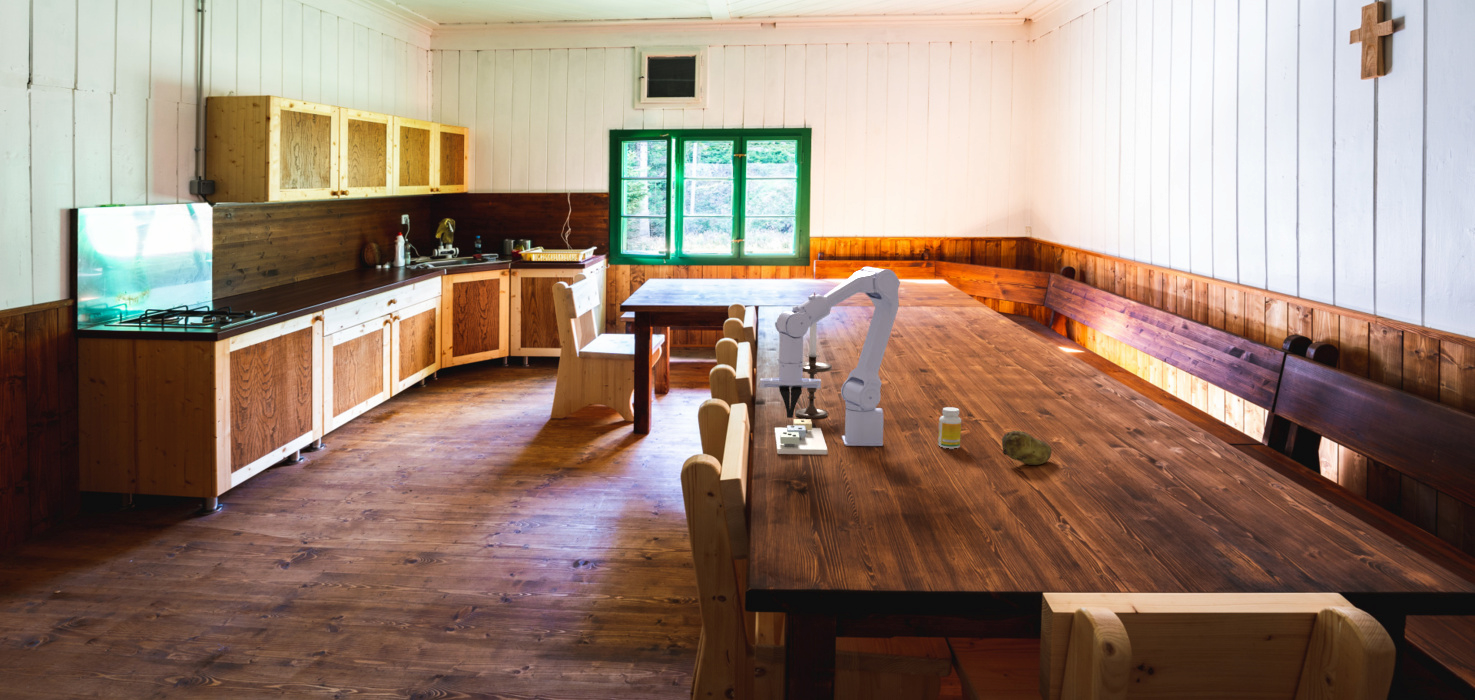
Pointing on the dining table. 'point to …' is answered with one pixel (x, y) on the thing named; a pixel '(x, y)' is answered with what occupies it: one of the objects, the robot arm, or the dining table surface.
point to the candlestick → (812, 369)
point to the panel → (803, 443)
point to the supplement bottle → (949, 428)
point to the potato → (1025, 448)
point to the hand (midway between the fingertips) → (789, 416)
